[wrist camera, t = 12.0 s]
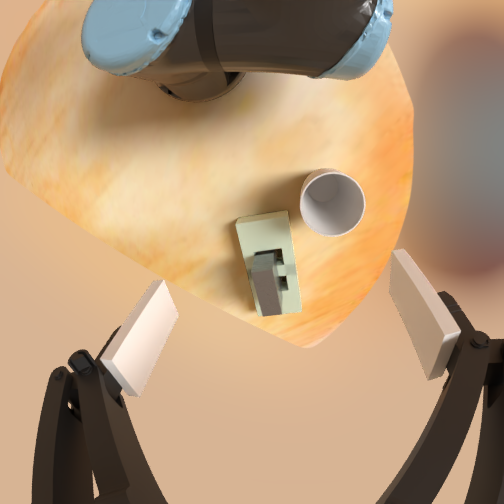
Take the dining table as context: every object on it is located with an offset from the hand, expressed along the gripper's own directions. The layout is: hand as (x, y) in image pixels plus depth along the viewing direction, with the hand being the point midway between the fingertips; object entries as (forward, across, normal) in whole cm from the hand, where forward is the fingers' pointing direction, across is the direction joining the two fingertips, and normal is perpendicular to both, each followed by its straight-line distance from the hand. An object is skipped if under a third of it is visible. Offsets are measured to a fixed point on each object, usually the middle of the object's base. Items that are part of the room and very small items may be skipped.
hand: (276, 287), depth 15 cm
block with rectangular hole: (+29, -4, -14) cm, 32 cm away
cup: (+29, +6, -2) cm, 30 cm away
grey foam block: (+29, -4, -14) cm, 32 cm away
